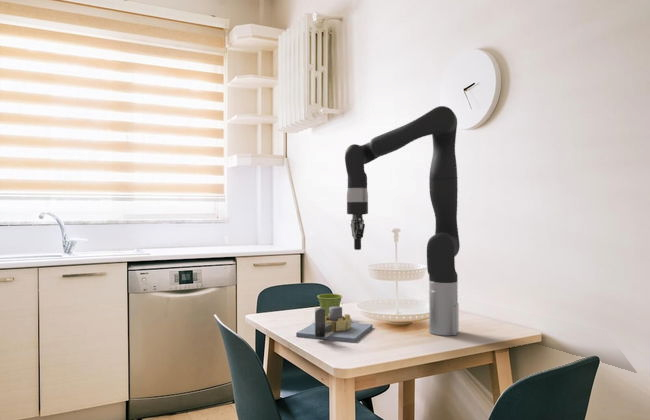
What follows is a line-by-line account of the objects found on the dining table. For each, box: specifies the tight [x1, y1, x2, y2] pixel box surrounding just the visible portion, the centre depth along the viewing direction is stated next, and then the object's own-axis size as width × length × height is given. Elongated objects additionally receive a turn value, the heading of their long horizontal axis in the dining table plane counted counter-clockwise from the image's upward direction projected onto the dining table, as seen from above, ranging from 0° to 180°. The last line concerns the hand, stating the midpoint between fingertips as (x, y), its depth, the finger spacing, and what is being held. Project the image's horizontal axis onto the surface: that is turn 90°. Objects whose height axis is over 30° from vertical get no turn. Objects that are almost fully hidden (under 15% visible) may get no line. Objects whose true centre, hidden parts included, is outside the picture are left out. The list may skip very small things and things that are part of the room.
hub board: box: [295, 306, 374, 343], centre depth 163 cm, size 20×22×8 cm
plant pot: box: [316, 293, 343, 316], centre depth 184 cm, size 9×9×9 cm
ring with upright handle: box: [314, 307, 352, 337], centre depth 160 cm, size 19×10×8 cm, turn 155°
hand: (357, 249), depth 174 cm, fingers closed
